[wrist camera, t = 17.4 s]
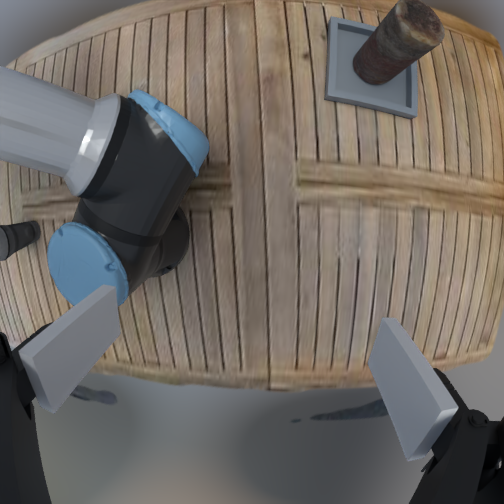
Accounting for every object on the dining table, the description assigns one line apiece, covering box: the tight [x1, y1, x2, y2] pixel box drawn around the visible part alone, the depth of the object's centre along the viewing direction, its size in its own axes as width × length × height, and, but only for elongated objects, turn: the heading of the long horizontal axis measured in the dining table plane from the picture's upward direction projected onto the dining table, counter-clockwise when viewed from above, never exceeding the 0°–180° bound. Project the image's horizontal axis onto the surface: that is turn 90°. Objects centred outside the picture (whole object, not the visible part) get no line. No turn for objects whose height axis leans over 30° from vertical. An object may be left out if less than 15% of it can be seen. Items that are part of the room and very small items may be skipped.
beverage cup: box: [0, 221, 41, 261], centre depth 43 cm, size 7×7×20 cm
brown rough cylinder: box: [353, 0, 445, 85], centre depth 30 cm, size 8×7×20 cm
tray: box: [324, 16, 418, 119], centre depth 39 cm, size 16×16×3 cm
